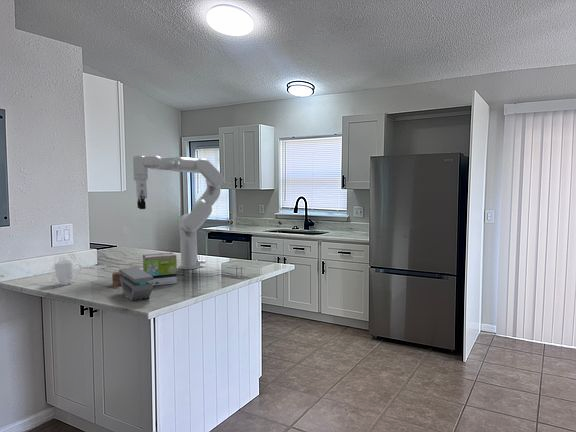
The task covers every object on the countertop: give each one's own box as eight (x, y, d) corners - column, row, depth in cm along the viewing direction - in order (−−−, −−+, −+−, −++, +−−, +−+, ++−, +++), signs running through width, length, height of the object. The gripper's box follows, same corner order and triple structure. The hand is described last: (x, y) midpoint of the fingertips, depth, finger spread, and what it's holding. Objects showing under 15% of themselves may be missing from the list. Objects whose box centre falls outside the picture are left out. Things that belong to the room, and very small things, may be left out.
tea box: (146, 287, 215) (145, 257, 214) (143, 282, 224) (142, 254, 223) (177, 283, 222) (176, 254, 221) (173, 279, 231) (171, 251, 230)
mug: (58, 287, 218) (56, 264, 217) (54, 284, 224) (52, 261, 223) (84, 283, 225) (82, 261, 224) (79, 280, 232) (78, 258, 231)
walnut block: (123, 283, 224) (123, 271, 223) (123, 285, 219) (123, 273, 219) (113, 284, 222) (112, 272, 222) (112, 286, 218) (112, 274, 217)
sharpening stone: (120, 292, 207) (119, 269, 206) (137, 289, 212) (136, 267, 211) (135, 304, 187) (134, 279, 186) (154, 301, 191) (153, 276, 190)
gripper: (149, 177, 239) (150, 209, 241) (145, 177, 255) (146, 207, 257) (135, 177, 236) (136, 209, 238) (132, 177, 252) (133, 207, 254)
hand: (141, 208), depth 247 cm, fingers open, 9 cm apart
